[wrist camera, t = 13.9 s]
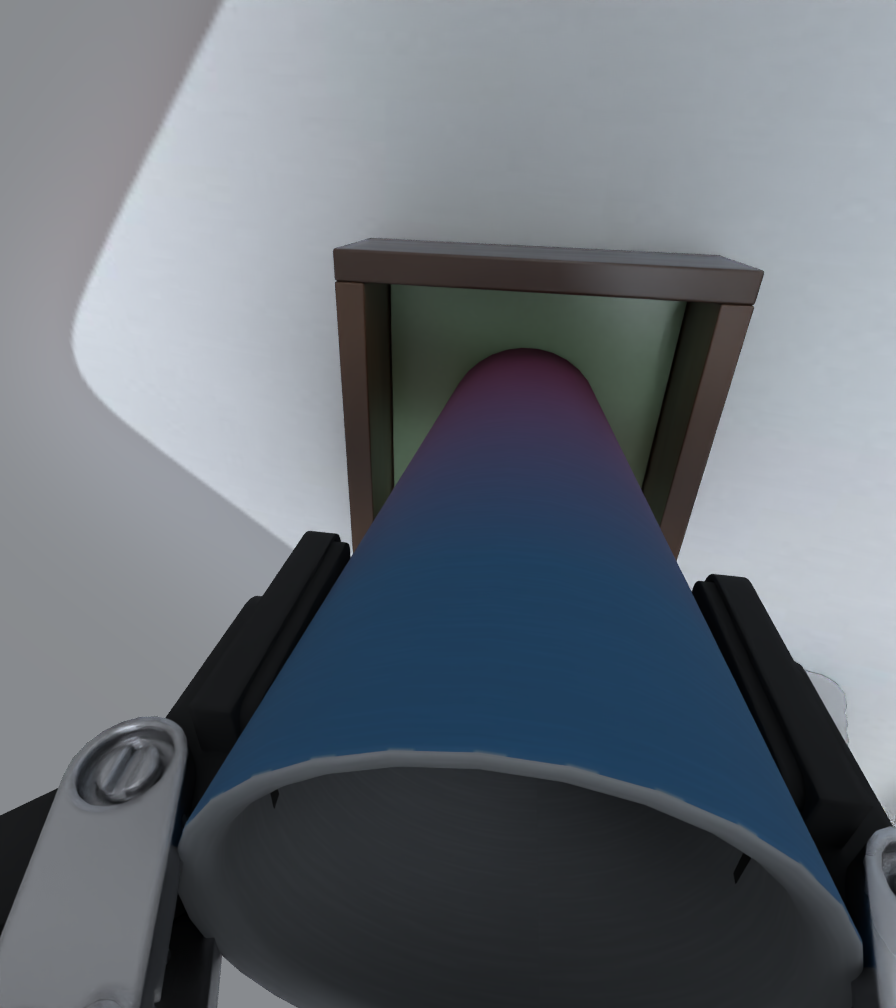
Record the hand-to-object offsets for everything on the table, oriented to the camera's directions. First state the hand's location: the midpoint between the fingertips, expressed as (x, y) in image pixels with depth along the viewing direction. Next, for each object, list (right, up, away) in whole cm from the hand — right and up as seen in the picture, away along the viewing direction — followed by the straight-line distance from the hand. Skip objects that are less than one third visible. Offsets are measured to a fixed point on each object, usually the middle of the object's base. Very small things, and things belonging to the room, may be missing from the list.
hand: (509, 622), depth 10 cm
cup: (+1, +5, +9) cm, 10 cm away
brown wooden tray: (+1, +5, +9) cm, 11 cm away
